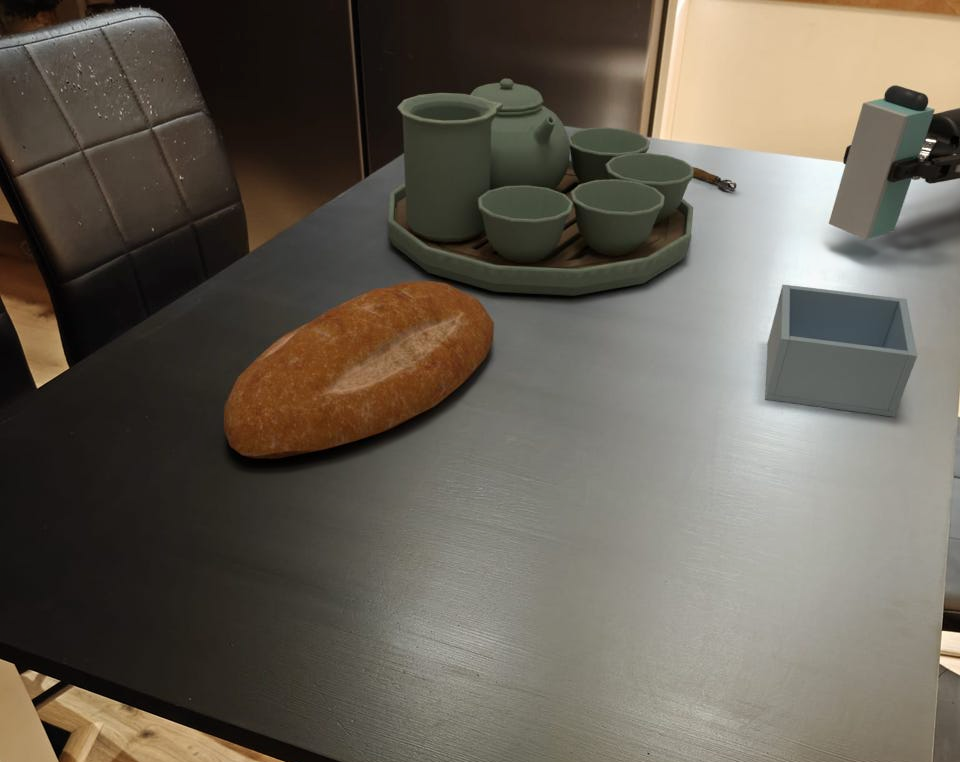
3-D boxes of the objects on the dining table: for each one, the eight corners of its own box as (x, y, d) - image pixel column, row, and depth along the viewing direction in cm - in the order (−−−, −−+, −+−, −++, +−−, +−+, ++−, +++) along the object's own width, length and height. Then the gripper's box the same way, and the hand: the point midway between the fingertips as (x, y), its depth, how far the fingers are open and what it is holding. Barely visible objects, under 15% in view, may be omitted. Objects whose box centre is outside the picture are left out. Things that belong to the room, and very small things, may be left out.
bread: (540, 350, 101) (545, 269, 95) (305, 501, 81) (293, 410, 74) (416, 303, 108) (414, 225, 102) (173, 431, 88) (152, 343, 82)
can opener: (687, 175, 141) (689, 166, 140) (699, 172, 142) (700, 164, 141) (730, 194, 135) (732, 185, 135) (742, 191, 136) (743, 182, 136)
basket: (885, 357, 101) (906, 298, 97) (894, 417, 93) (917, 355, 88) (767, 342, 103) (782, 283, 99) (764, 399, 95) (781, 338, 90)
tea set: (609, 331, 104) (628, 174, 93) (326, 248, 119) (312, 104, 107) (736, 219, 129) (764, 84, 117) (488, 162, 143) (491, 37, 132)
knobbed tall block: (856, 215, 122) (897, 81, 111) (894, 231, 119) (940, 93, 108) (828, 223, 120) (867, 87, 109) (865, 240, 117) (909, 100, 106)
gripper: (917, 94, 121) (831, 113, 114) (1016, 125, 113) (930, 147, 106) (897, 156, 127) (814, 178, 120) (990, 190, 118) (907, 215, 111)
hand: (869, 164), depth 113 cm, fingers closed on knobbed tall block, 6 cm apart
